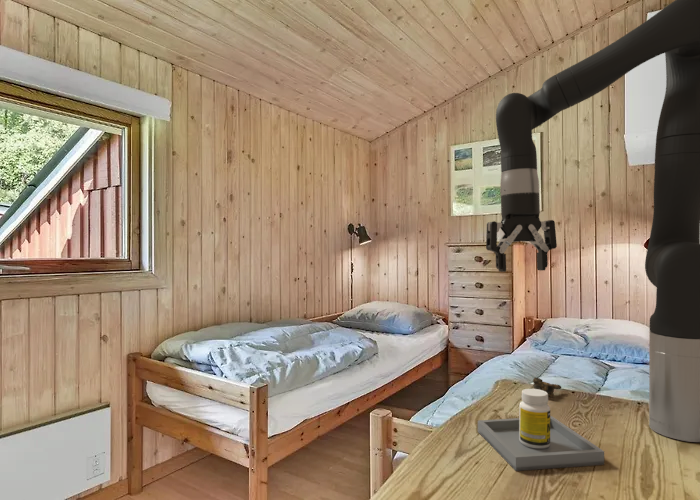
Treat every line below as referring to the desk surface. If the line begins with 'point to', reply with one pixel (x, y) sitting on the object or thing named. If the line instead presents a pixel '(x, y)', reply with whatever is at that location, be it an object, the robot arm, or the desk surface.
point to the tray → (561, 452)
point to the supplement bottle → (534, 419)
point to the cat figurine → (545, 386)
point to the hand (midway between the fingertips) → (522, 270)
